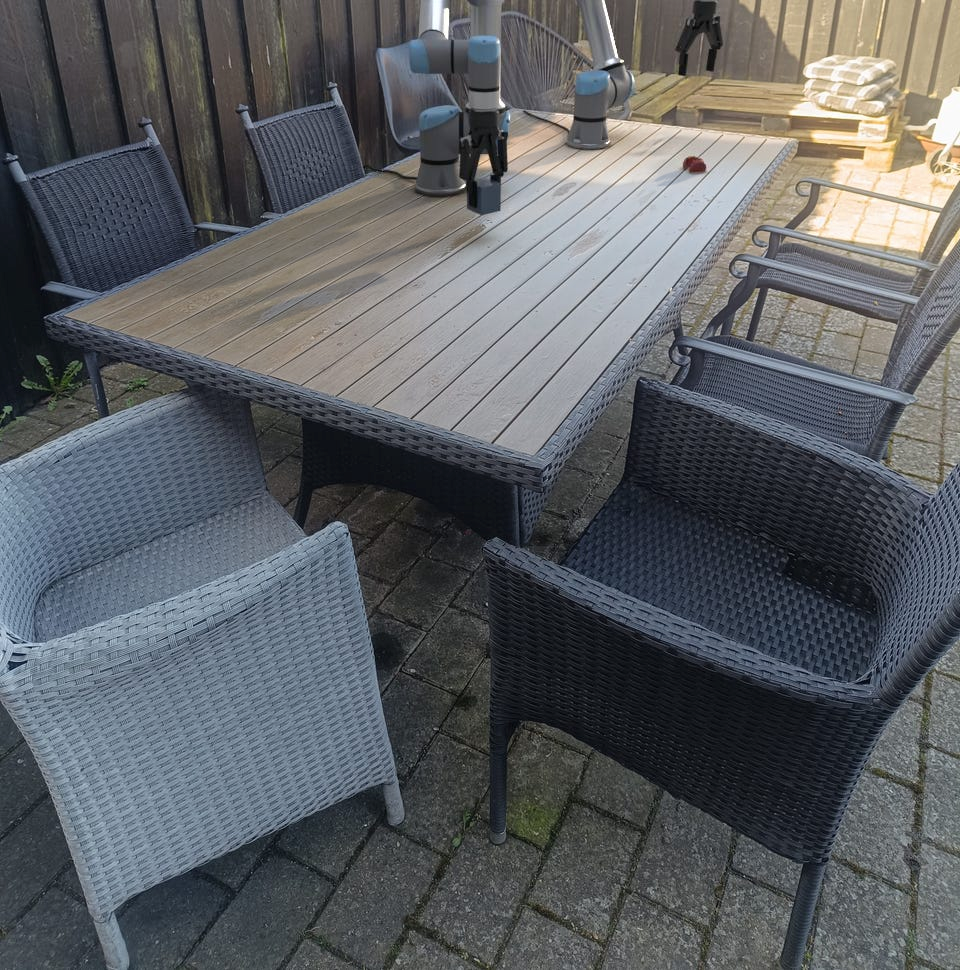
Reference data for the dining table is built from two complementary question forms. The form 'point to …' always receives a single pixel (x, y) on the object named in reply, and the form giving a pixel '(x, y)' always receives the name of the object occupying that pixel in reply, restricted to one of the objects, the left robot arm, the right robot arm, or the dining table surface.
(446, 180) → the left robot arm
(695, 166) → the dark red rounded lump
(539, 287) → the dining table surface
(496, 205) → the cube
